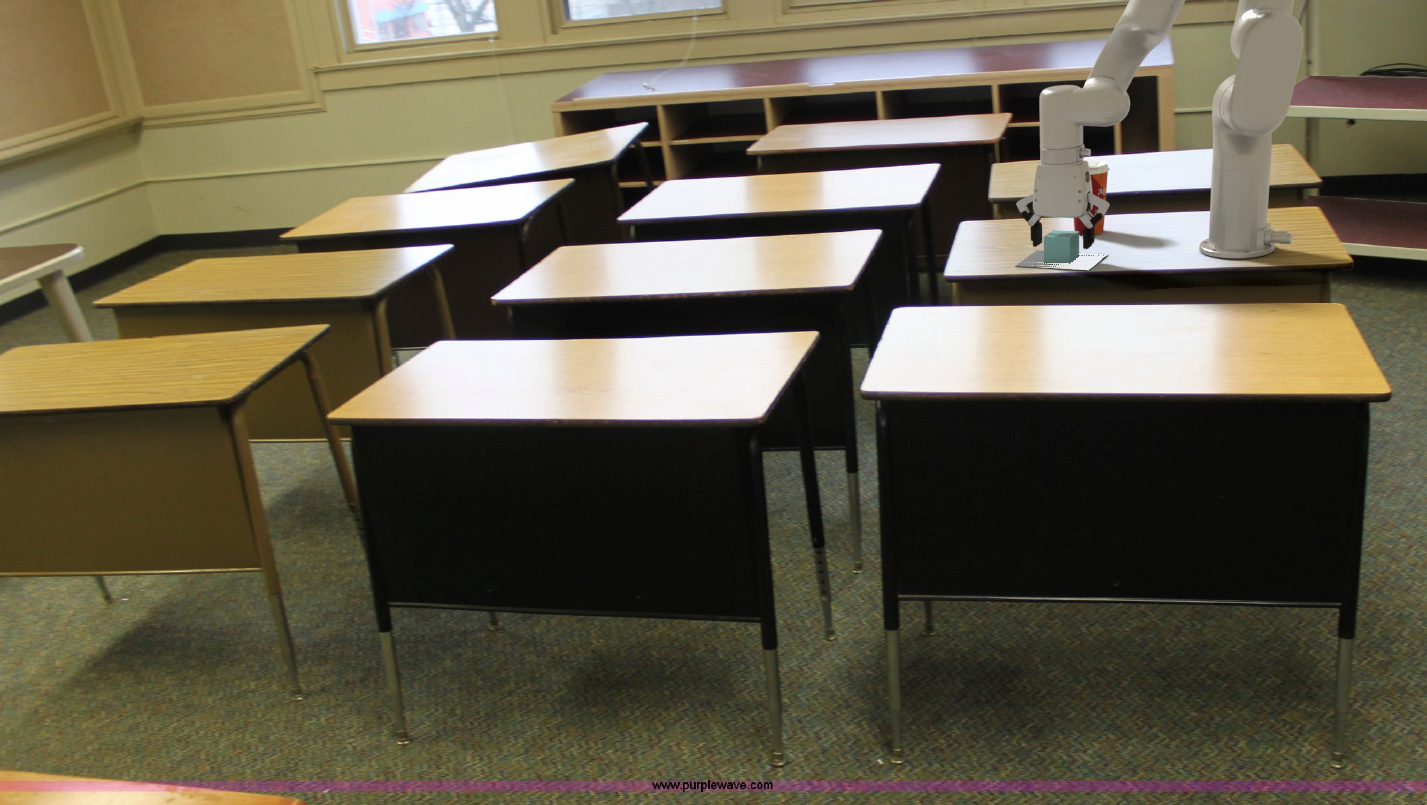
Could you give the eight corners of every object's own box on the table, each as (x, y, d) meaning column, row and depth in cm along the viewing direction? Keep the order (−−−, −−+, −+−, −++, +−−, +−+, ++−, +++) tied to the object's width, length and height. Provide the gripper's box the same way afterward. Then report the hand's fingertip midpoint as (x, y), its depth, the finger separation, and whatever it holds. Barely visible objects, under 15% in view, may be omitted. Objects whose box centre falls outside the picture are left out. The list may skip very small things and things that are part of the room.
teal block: (1079, 256, 215) (1079, 231, 213) (1069, 264, 211) (1069, 238, 210) (1053, 255, 218) (1053, 230, 216) (1043, 262, 214) (1043, 236, 213)
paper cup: (1111, 235, 227) (1111, 166, 222) (1071, 238, 229) (1071, 169, 223) (1106, 226, 234) (1107, 158, 229) (1067, 228, 236) (1067, 161, 230)
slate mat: (1108, 255, 215) (1108, 254, 215) (1088, 271, 207) (1088, 270, 207) (1036, 251, 223) (1036, 250, 223) (1015, 266, 215) (1015, 265, 215)
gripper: (1115, 151, 205) (1114, 242, 211) (1024, 151, 215) (1025, 239, 221) (1102, 159, 200) (1101, 253, 206) (1008, 159, 210) (1010, 249, 216)
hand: (1062, 246), depth 214 cm, fingers open, 9 cm apart
